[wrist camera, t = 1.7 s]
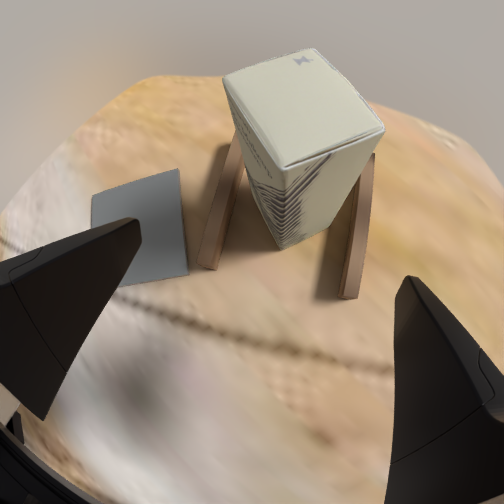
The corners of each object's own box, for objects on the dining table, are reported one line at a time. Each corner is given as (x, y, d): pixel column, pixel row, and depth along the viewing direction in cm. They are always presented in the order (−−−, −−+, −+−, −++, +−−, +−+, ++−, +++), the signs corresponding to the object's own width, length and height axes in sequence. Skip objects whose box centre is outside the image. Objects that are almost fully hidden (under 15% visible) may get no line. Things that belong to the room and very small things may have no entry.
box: (251, 195, 22) (212, 72, 9) (301, 172, 22) (310, 40, 9) (282, 256, 20) (277, 173, 8) (334, 229, 20) (392, 126, 8)
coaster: (189, 274, 21) (187, 274, 21) (96, 290, 22) (93, 290, 21) (179, 170, 23) (177, 168, 22) (94, 196, 24) (92, 195, 23)
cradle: (350, 299, 19) (357, 298, 17) (204, 267, 21) (196, 263, 19) (368, 165, 21) (374, 153, 19) (240, 141, 23) (236, 128, 21)
